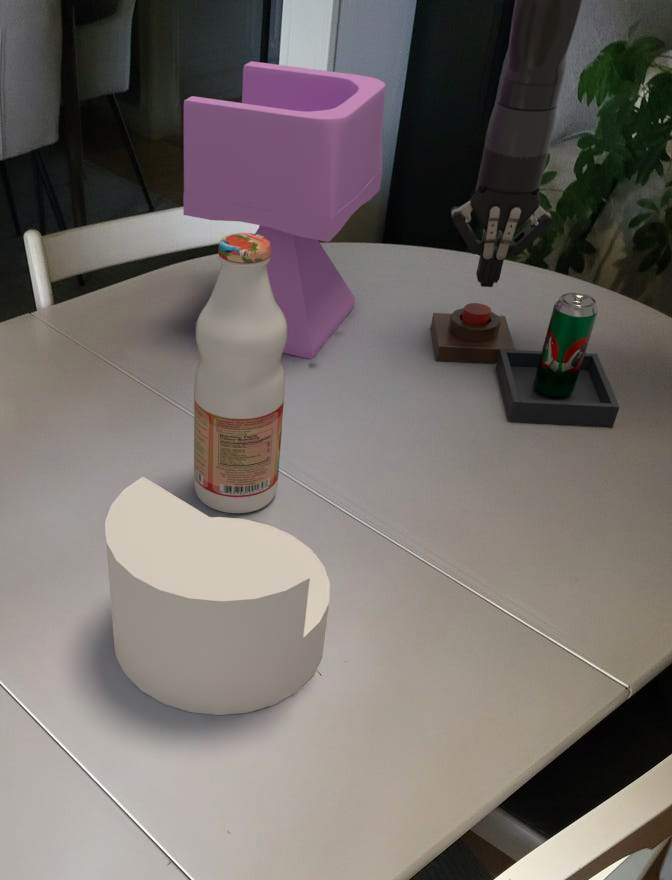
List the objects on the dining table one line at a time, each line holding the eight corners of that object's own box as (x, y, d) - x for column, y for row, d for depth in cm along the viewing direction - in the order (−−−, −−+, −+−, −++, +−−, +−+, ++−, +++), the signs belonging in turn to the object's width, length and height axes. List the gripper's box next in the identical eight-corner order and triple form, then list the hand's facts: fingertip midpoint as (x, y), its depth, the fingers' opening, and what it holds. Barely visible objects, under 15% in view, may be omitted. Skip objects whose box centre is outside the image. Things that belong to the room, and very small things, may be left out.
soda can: (575, 385, 126) (603, 295, 117) (569, 403, 122) (596, 312, 114) (536, 377, 127) (560, 287, 119) (528, 394, 124) (552, 304, 116)
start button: (486, 315, 134) (489, 303, 133) (490, 327, 131) (492, 315, 130) (460, 314, 134) (462, 302, 133) (462, 326, 131) (465, 314, 130)
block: (501, 330, 138) (508, 303, 136) (511, 364, 131) (518, 336, 128) (430, 327, 139) (435, 300, 136) (436, 361, 132) (441, 333, 129)
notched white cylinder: (367, 637, 93) (386, 525, 83) (219, 751, 83) (222, 637, 73) (217, 544, 103) (219, 435, 94) (70, 635, 93) (56, 522, 84)
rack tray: (591, 372, 130) (597, 353, 128) (612, 427, 120) (619, 407, 118) (495, 368, 130) (499, 348, 129) (508, 421, 121) (513, 401, 119)
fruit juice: (176, 491, 110) (173, 241, 91) (233, 458, 115) (241, 215, 95) (237, 526, 105) (248, 271, 86) (294, 490, 110) (316, 241, 91)
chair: (241, 280, 150) (249, 60, 130) (364, 306, 144) (394, 78, 123) (183, 334, 137) (183, 99, 117) (316, 365, 131) (340, 122, 110)
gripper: (464, 152, 115) (437, 294, 127) (579, 156, 114) (541, 299, 126) (458, 132, 120) (433, 270, 132) (567, 136, 119) (532, 275, 131)
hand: (486, 284), depth 129 cm, fingers closed
